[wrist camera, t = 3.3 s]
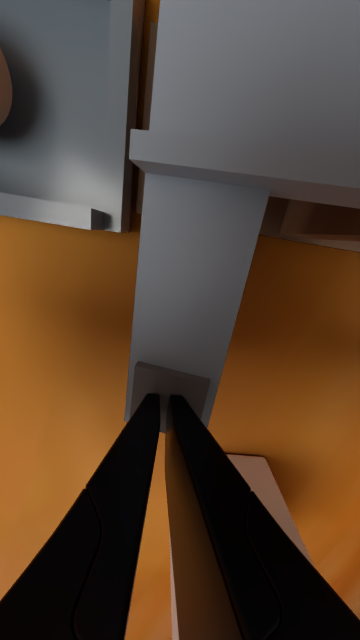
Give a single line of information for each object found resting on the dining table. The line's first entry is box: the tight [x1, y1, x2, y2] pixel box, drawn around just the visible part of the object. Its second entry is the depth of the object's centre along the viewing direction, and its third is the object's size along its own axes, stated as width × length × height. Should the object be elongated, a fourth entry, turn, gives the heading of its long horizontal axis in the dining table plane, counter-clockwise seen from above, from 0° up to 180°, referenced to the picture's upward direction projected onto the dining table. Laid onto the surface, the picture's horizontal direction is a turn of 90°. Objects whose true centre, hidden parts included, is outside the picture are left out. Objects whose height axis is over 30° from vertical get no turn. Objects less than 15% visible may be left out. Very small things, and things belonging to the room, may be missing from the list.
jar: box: [169, 454, 315, 640], centre depth 13 cm, size 9×8×12 cm
